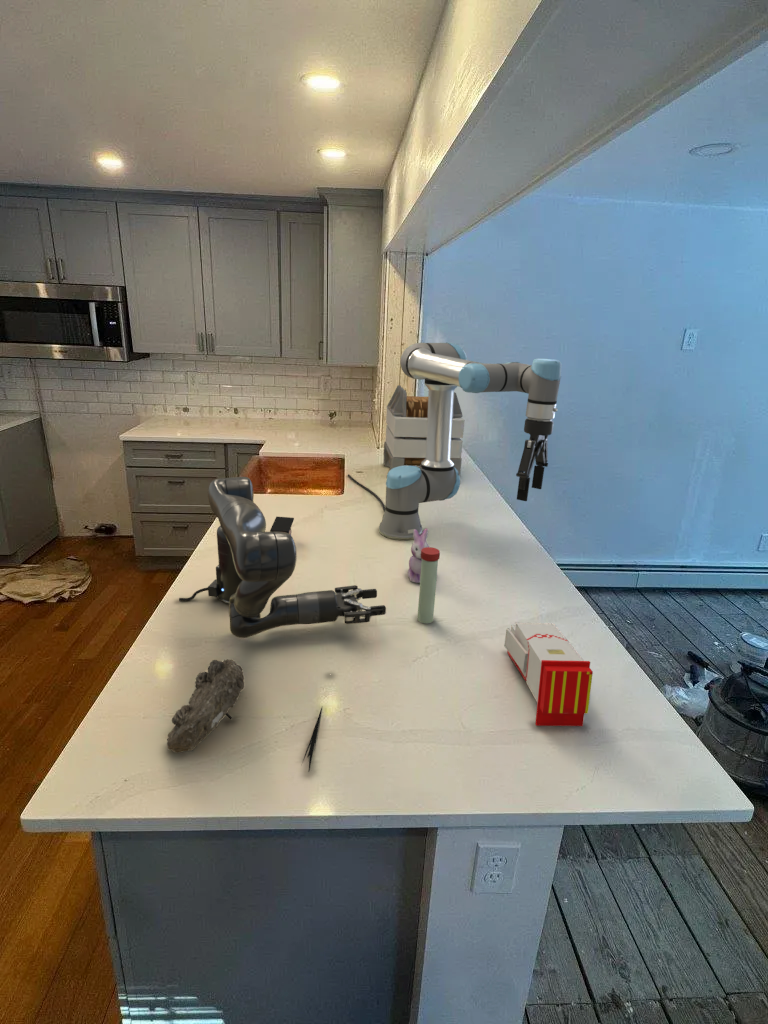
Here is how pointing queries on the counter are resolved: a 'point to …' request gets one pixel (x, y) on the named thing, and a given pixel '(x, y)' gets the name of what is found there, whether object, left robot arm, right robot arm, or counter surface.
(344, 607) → the left robot arm
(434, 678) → the counter surface
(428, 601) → the bottle
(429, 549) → the lid
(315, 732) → the feather
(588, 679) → the toy
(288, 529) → the figurine character
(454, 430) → the grey slatted crate
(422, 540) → the figurine
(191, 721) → the fossil
